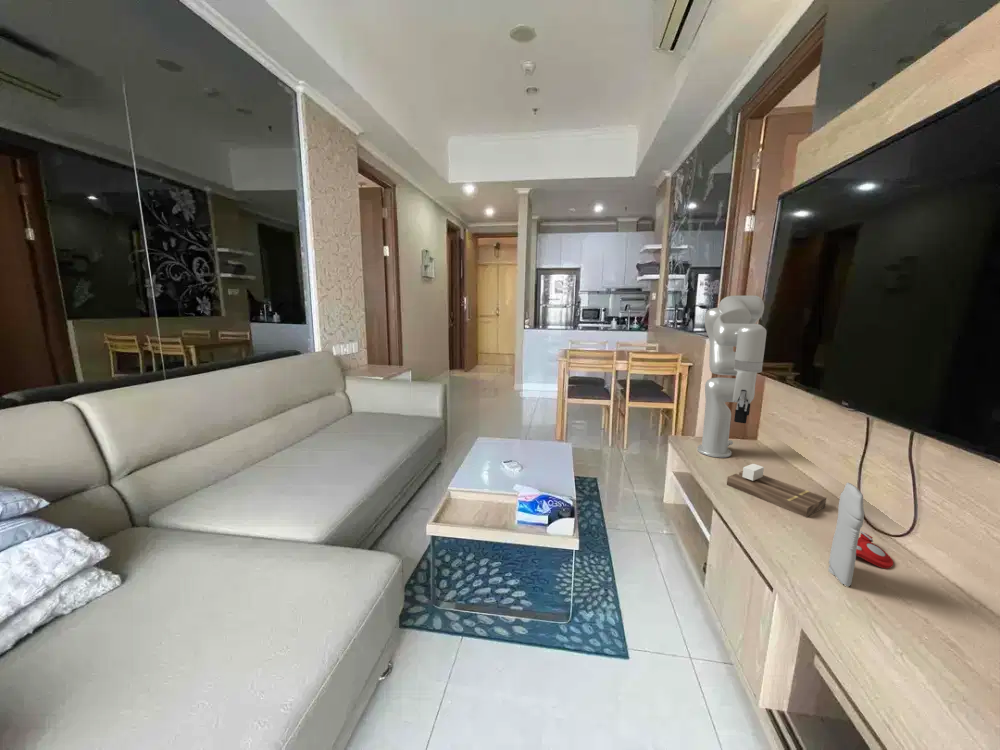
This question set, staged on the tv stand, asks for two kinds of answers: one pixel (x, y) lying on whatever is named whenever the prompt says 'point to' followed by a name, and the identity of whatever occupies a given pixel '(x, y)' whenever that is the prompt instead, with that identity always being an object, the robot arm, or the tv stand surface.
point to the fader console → (779, 494)
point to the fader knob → (753, 472)
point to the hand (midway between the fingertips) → (741, 418)
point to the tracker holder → (872, 552)
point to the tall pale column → (846, 534)
